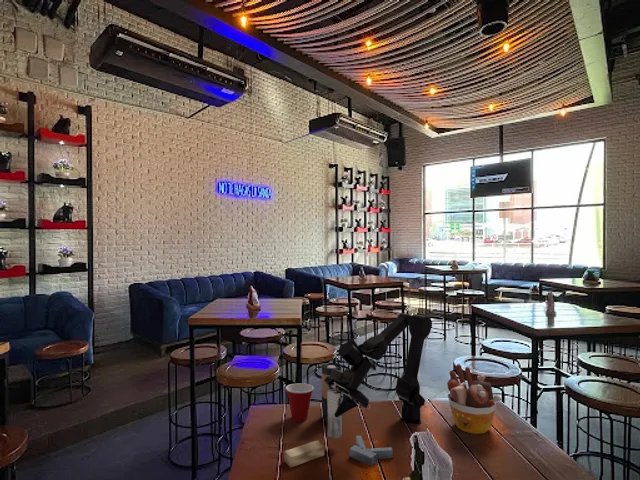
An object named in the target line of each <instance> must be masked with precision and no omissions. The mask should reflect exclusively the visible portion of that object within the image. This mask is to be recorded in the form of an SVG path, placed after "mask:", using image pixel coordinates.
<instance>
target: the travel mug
mask: <svg viewBox="0 0 640 480" xmlns="http://www.w3.org/2000/svg"><path fill="white" fill-rule="evenodd" d="M332 368H334V369H337V370H340V371H342V365H341V364H340V363H338V362H328V363H327V364H322V365H321V417H322V420H323V421H325V422H326V423H328V411H326V407H327V404H328V402H327V391H328V390H330V388H329V387H328V384H326V383H325V382H324V380H325V378H326V377H327V376H330V374H331V371H332ZM342 393H343V392H342V391H341V396H343V394H342ZM341 399H342V400H343V397H342V398H341Z"/></svg>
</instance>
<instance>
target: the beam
mask: <svg viewBox="0 0 640 480" xmlns="http://www.w3.org/2000/svg"><path fill="white" fill-rule="evenodd" d="M283 453H284V462H285V463H286V465H287V466H289V468H293V467H296V466H299V465H302V464H304V463H307V462H310V461H313V460H315V459H318V458H321V457H323V456H325V445H324V444H323V443H322V442H320V441H319V439H316V440H314V441H311V442H307V443H305V444H302V445H299V446H296V447H293V448H290V449H287V450H284V452H283Z"/></svg>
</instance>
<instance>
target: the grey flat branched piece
mask: <svg viewBox="0 0 640 480" xmlns="http://www.w3.org/2000/svg"><path fill="white" fill-rule="evenodd" d="M393 452H394V451H393V447H391V446H388V447H375V448H373V447H371V448H366V445H365V442H364V439H363V437H362V435H356V436H355V444H354V445H353V446H352V447H350V448H349V457H350V458H352V459H354V460H356V461H359V462H361V463H364V464H365V465H368V466H370V467H373V466H374V465H376V464H377V462H378V460H384V459H393V458H394V457H393V456H394V455H393Z"/></svg>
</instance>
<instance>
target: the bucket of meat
mask: <svg viewBox="0 0 640 480" xmlns="http://www.w3.org/2000/svg"><path fill="white" fill-rule="evenodd" d="M455 368H456V372H457V374H456V372H455V371H454V370H450V371H449V376H450V379H448V381H447V390H448V391H449V393H448V394H447V398H448V401H449V406H450V410H451V415H452V419H453V422H454V425H456V427H457V428H458V429H459V430H460V431H462V432H464V433H466V432H467V433H466V434H472V435H483V434H484V435H485V434H486V433H487V432H488V431H489V430H490V429H491V428H492V423H493V420H494V416H495V411H496V408H497V401H498V402H499V401H501V400H502V397H500V396H499V395H497V394H493V392H494V391H493V388H492V382H488V381H485V379H487V377H486V375H484V374H480V375H477V377H476V379H477V380H473V378H472V373H471V368H470V367H468V366H466V367H465V368H464V371H465V375H464V372H463V368H462V365H461V364H459V363H457V364H456V367H455ZM457 375H458V377H457ZM465 376H466V380H465ZM466 381H467V384H466ZM467 387H468V388H467Z"/></svg>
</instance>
